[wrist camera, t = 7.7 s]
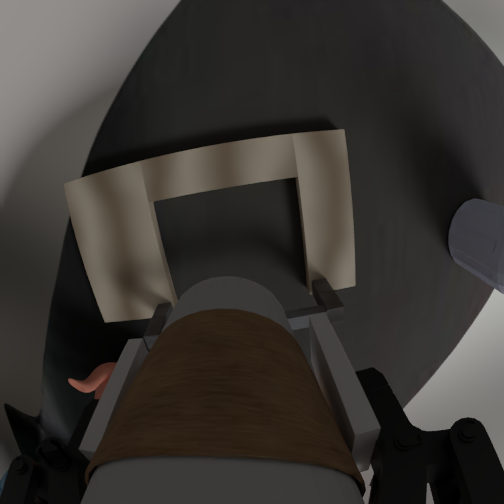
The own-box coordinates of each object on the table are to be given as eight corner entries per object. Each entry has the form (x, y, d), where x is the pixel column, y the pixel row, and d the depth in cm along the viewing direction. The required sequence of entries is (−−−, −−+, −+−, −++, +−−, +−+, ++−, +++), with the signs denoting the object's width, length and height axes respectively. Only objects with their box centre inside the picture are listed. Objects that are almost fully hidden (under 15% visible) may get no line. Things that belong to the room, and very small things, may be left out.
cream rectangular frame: (109, 315, 32) (85, 353, 25) (70, 182, 27) (29, 193, 20) (350, 280, 32) (377, 313, 25) (338, 130, 27) (370, 125, 20)
